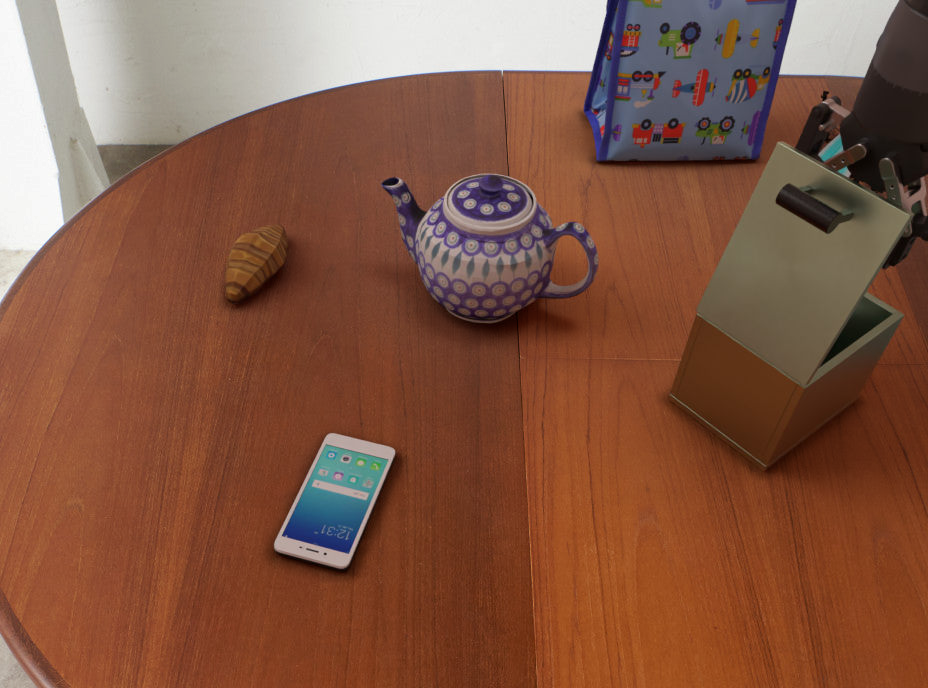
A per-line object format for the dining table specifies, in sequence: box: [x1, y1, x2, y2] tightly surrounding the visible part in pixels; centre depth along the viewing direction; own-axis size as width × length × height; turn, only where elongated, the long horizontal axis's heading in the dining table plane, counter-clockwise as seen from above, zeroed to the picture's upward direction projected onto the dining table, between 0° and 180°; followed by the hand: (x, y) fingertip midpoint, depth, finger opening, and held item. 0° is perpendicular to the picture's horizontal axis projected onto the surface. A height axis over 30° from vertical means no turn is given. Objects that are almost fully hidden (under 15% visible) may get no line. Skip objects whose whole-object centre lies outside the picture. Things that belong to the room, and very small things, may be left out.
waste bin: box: [667, 291, 905, 472], centre depth 94 cm, size 16×13×12 cm
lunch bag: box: [583, 0, 798, 162], centre depth 116 cm, size 22×14×29 cm, turn 93°
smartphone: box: [273, 432, 396, 572], centre depth 89 cm, size 8×1×15 cm
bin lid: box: [695, 140, 915, 386], centre depth 79 cm, size 16×13×5 cm
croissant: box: [223, 224, 289, 305], centre depth 108 cm, size 14×7×5 cm, turn 161°
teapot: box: [380, 173, 600, 324], centre depth 102 cm, size 25×15×15 cm, turn 63°
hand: (845, 240), depth 84 cm, fingers open, 8 cm apart
